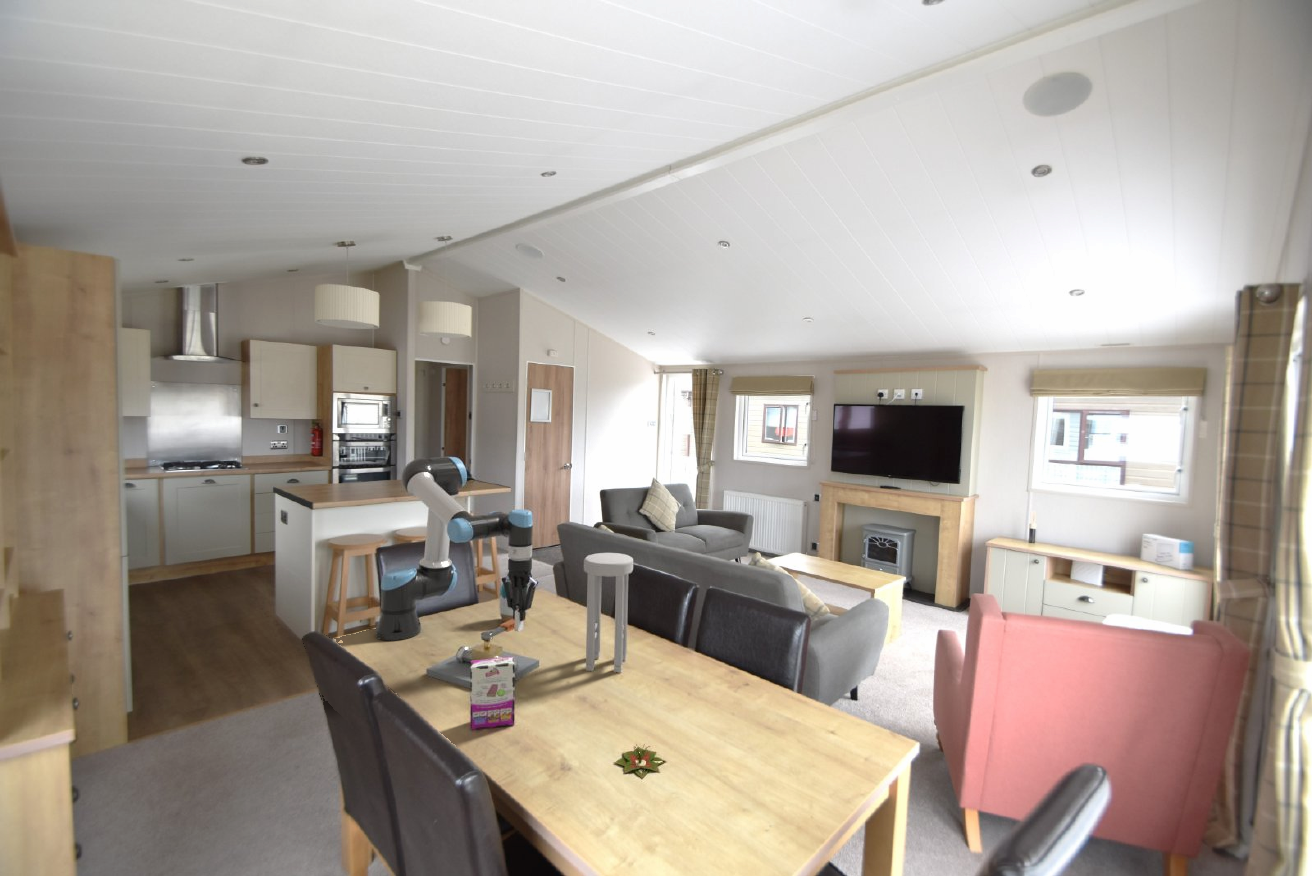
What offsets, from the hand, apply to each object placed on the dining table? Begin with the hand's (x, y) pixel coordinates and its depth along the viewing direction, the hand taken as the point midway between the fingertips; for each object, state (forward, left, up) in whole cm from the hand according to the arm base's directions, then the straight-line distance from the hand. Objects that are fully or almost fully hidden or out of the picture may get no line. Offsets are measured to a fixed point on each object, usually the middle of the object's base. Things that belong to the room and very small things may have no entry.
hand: (519, 629), depth 191 cm
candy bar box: (+19, -33, -11) cm, 40 cm away
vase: (-26, +29, -11) cm, 41 cm away
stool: (+26, +13, -11) cm, 31 cm away
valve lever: (-3, -5, 0) cm, 6 cm away
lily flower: (+61, -30, -12) cm, 69 cm away
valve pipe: (-3, -11, -9) cm, 15 cm away
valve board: (-5, -10, -11) cm, 16 cm away
